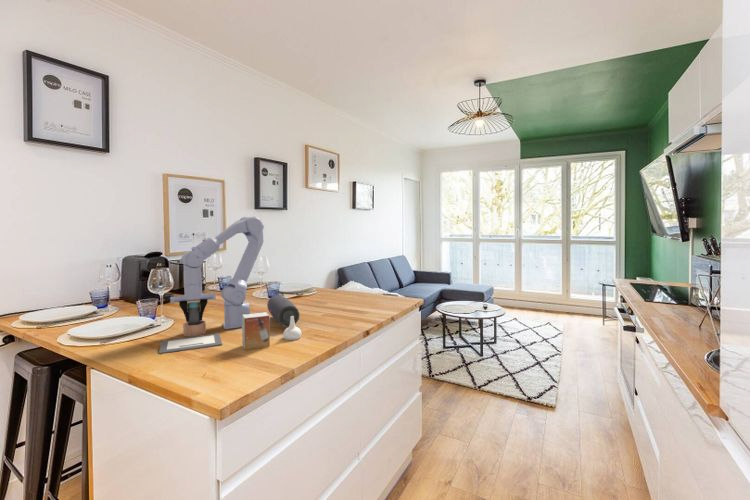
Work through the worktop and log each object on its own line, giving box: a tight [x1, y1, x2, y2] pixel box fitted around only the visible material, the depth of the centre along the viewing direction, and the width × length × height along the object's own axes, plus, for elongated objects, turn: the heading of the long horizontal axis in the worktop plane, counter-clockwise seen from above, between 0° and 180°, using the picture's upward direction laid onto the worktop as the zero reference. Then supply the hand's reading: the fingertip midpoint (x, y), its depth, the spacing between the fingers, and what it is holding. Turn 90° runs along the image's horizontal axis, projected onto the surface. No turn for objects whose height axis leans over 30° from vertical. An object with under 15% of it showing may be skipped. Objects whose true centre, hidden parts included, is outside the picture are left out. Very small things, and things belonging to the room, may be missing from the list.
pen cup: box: [182, 319, 207, 337], centre depth 128 cm, size 7×7×4 cm
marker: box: [187, 301, 201, 325], centre depth 127 cm, size 4×4×10 cm
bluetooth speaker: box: [267, 294, 300, 328], centre depth 142 cm, size 23×9×10 cm, turn 27°
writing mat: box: [158, 332, 223, 355], centre depth 117 cm, size 18×13×1 cm
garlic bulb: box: [283, 316, 302, 341], centre depth 123 cm, size 6×6×8 cm
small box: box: [241, 311, 271, 351], centre depth 115 cm, size 8×6×10 cm
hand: (194, 320), depth 127 cm, fingers closed on marker, 4 cm apart
